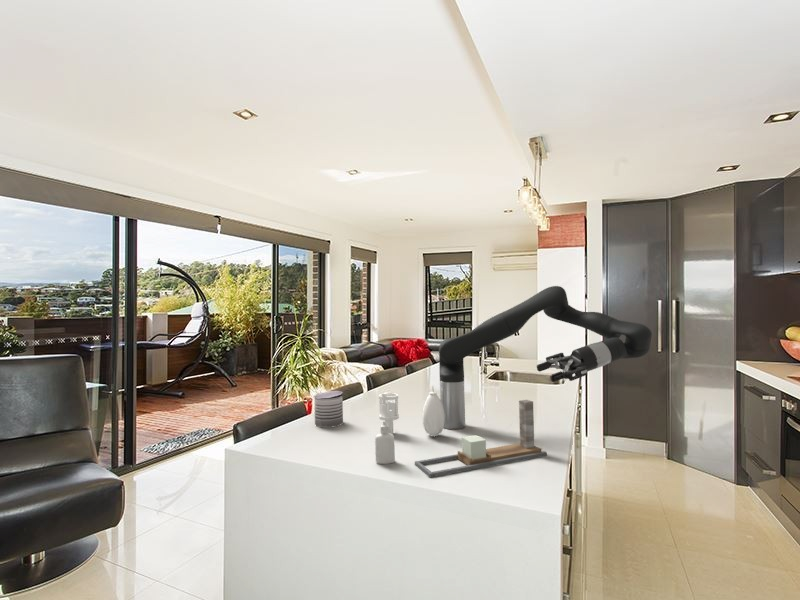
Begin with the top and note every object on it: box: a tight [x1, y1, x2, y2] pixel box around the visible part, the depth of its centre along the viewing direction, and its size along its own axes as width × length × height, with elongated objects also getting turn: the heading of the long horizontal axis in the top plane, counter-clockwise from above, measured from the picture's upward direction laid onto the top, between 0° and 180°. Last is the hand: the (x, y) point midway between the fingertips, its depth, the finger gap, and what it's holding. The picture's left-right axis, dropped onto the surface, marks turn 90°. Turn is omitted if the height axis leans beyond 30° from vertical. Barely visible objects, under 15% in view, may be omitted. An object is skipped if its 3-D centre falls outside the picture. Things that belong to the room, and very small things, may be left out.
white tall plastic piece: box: [378, 391, 400, 435], centre depth 155 cm, size 7×7×15 cm
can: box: [313, 390, 344, 428], centre depth 170 cm, size 11×11×12 cm
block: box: [461, 435, 487, 460], centre depth 125 cm, size 5×5×5 cm
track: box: [414, 451, 548, 478], centre depth 126 cm, size 10×39×1 cm, turn 112°
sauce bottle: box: [422, 385, 445, 438], centre depth 151 cm, size 8×8×18 cm
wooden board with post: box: [457, 399, 542, 466], centre depth 129 cm, size 7×25×16 cm, turn 112°
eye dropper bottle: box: [374, 420, 396, 465], centre depth 127 cm, size 4×6×12 cm
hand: (544, 373), depth 132 cm, fingers open, 8 cm apart
